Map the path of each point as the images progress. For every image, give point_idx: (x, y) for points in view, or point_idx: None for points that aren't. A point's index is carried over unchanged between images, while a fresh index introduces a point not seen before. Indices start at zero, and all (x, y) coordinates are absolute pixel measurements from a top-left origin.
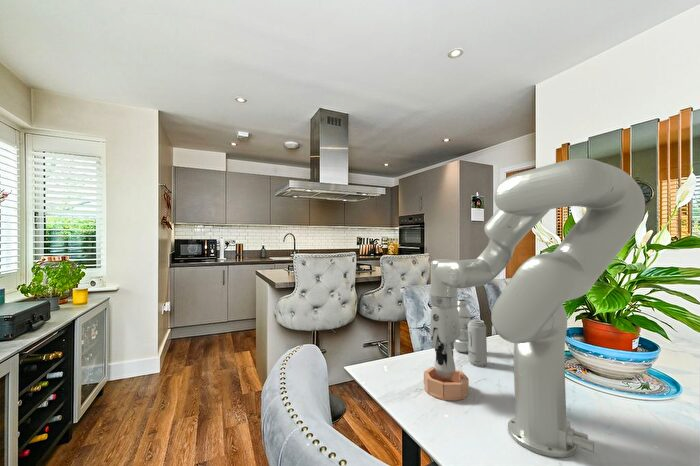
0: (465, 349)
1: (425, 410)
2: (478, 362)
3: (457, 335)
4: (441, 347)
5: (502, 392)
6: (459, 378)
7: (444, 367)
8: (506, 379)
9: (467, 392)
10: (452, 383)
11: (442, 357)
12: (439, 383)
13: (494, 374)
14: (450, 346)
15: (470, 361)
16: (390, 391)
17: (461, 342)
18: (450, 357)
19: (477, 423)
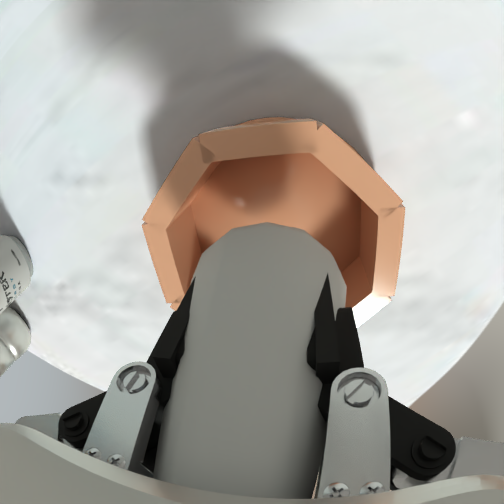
0: (11, 317)
1: (481, 197)
2: (15, 251)
3: (20, 488)
4: (399, 453)
5: (92, 61)
6: (182, 210)
7: (336, 281)
8: (15, 131)
9: (235, 125)
10: (352, 169)
11: (359, 353)
12: (401, 229)
13: (17, 178)
14: (205, 422)
15: (29, 275)
16: (427, 344)
17: (7, 339)
18: (271, 312)
19: (421, 4)
